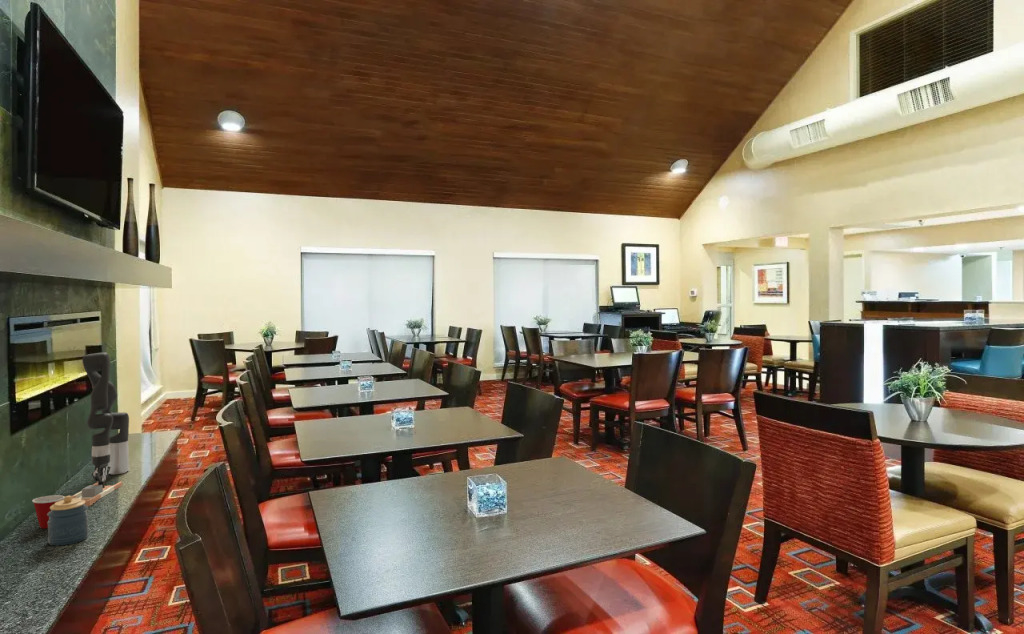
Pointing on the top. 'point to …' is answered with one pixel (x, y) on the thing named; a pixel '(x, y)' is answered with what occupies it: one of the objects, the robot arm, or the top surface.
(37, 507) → the plastic cup
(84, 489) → the slate block
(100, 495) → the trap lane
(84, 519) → the canister
